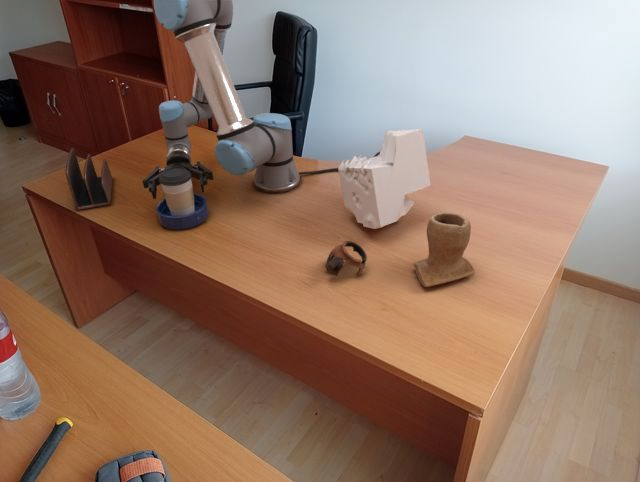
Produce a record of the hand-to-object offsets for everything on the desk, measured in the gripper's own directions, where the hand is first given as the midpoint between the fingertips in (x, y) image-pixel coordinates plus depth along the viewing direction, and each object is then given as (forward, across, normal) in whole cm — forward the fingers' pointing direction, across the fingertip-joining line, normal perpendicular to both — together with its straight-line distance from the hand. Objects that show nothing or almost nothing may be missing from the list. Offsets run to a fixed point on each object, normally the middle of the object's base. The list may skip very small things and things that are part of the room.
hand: (178, 191), depth 139 cm
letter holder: (-26, +29, -10) cm, 40 cm away
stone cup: (+41, -63, -11) cm, 76 cm away
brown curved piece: (+35, -39, -11) cm, 53 cm away
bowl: (-3, 0, -10) cm, 11 cm away
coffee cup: (-3, 0, -10) cm, 10 cm away
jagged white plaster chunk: (+13, -57, -11) cm, 59 cm away
